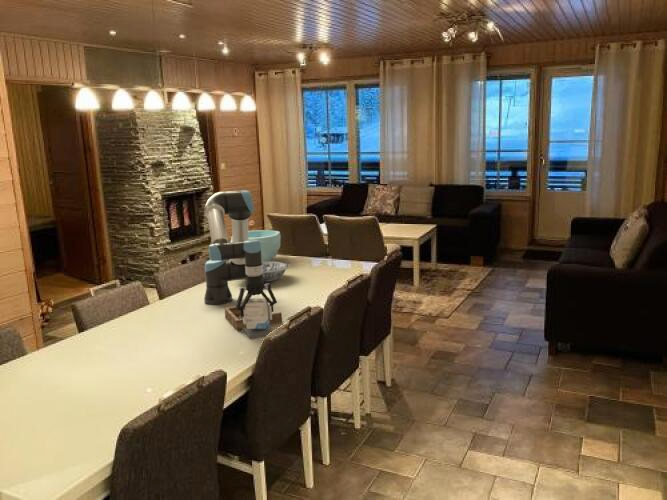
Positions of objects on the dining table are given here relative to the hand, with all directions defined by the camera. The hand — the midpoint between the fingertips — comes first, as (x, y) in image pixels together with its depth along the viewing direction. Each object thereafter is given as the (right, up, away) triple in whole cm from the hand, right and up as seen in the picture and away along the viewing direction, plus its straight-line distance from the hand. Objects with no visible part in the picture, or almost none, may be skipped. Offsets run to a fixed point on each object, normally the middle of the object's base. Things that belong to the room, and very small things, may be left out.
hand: (257, 321), depth 256 cm
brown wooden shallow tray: (-5, -2, +19) cm, 20 cm away
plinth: (0, -5, +1) cm, 6 cm away
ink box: (0, -2, +1) cm, 2 cm away
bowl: (-19, +22, +141) cm, 144 cm away
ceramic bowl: (-10, +13, +95) cm, 96 cm away
